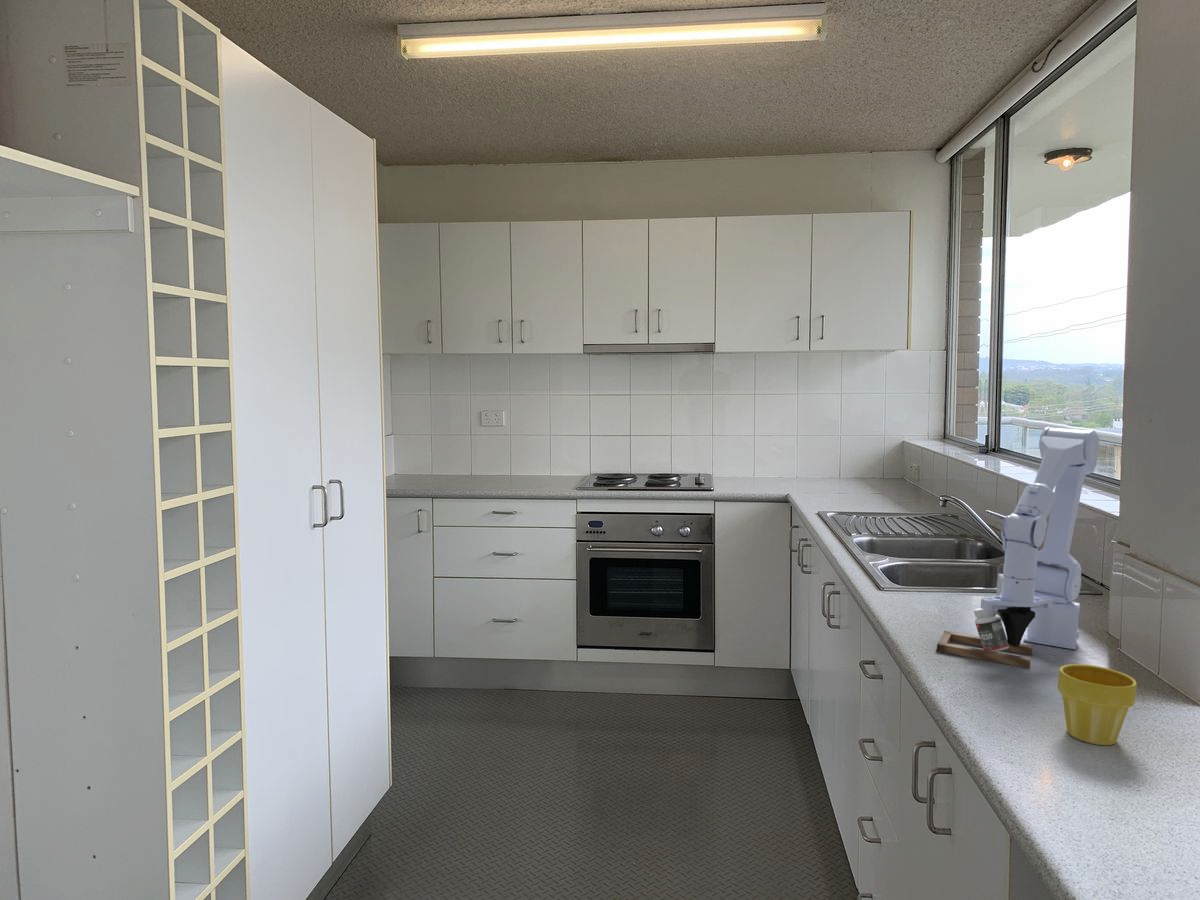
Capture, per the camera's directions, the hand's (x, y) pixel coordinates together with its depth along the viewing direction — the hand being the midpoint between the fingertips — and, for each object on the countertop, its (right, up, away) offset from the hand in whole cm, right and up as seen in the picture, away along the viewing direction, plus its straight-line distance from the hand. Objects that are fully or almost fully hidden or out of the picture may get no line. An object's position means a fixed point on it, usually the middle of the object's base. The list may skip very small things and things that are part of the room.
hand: (1013, 644), depth 171 cm
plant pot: (-5, -6, -36) cm, 37 cm away
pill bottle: (-2, -2, +2) cm, 3 cm away
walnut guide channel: (-5, -2, +3) cm, 6 cm away
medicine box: (+15, 0, +32) cm, 35 cm away
